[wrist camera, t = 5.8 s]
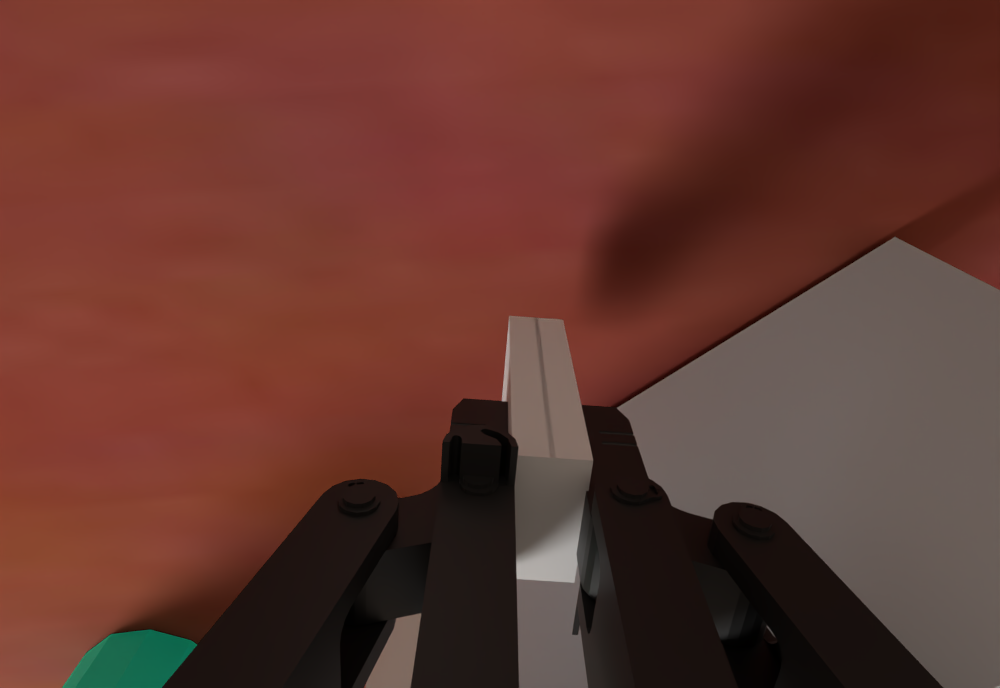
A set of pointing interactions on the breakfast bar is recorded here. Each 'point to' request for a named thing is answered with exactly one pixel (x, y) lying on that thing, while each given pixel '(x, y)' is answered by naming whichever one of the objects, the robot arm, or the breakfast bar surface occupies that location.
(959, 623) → the door
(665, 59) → the breakfast bar surface
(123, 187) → the breakfast bar surface
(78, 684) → the candle
